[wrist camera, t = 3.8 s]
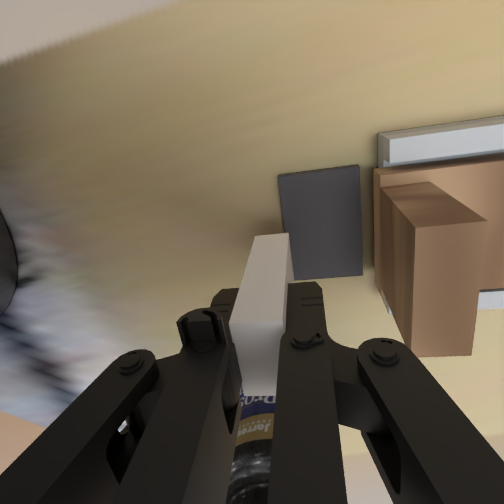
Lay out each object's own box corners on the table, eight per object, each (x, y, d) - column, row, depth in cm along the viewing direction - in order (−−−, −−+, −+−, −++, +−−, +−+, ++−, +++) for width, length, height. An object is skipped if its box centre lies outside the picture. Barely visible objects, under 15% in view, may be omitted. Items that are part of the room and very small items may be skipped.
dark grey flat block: (290, 275, 20) (290, 280, 20) (278, 174, 18) (277, 177, 18) (361, 270, 20) (362, 275, 19) (357, 164, 17) (359, 166, 17)
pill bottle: (272, 320, 22) (251, 508, 12) (349, 367, 23) (389, 579, 13) (223, 378, 25) (172, 573, 15) (294, 418, 25) (292, 629, 15)
